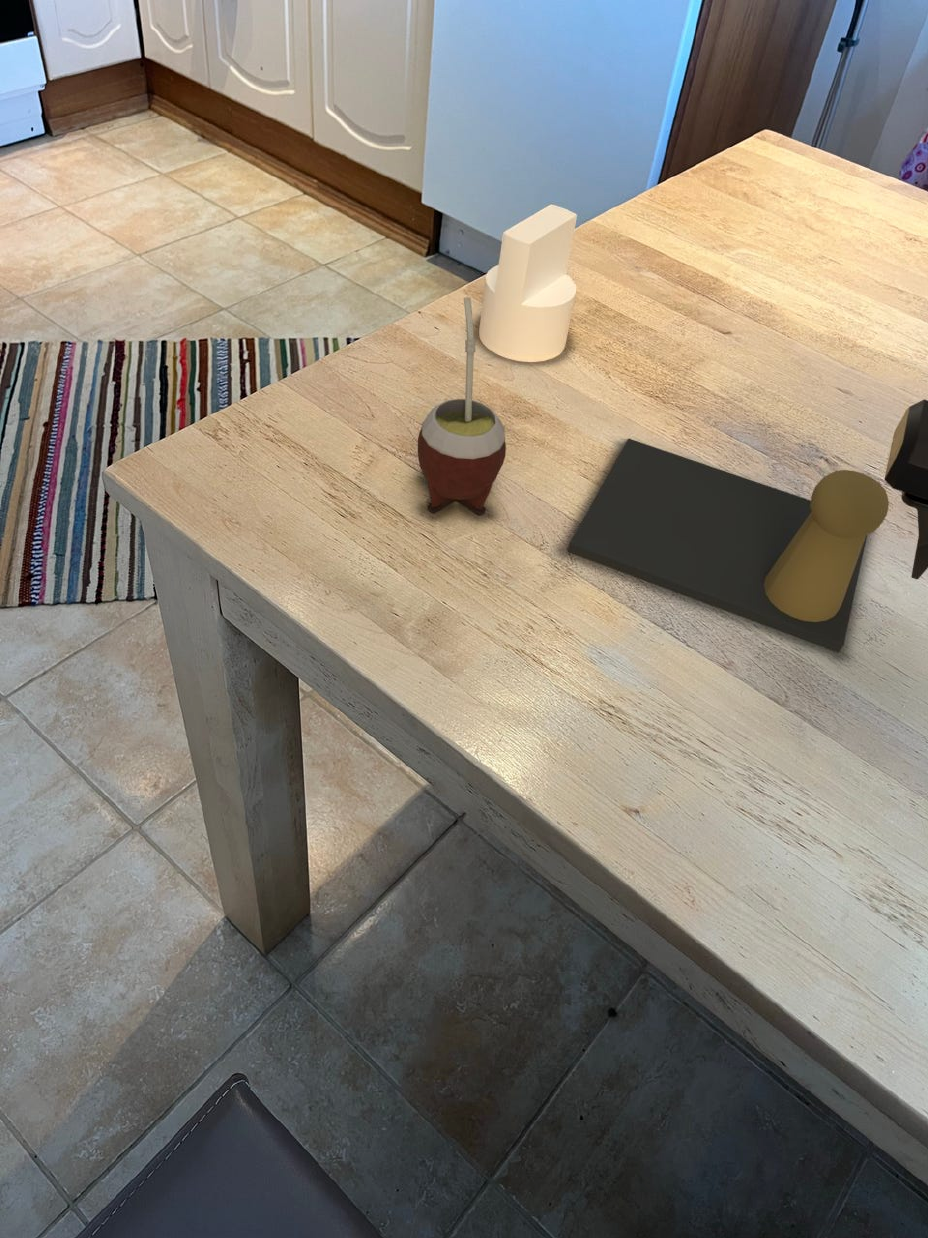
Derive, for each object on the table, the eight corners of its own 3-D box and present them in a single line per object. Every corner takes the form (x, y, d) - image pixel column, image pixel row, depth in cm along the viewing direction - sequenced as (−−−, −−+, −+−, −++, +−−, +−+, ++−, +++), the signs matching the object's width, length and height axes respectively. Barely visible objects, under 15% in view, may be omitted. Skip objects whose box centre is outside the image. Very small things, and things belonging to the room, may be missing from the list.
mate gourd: (457, 536, 76) (478, 375, 65) (389, 487, 79) (397, 326, 68) (517, 497, 80) (546, 339, 69) (450, 452, 83) (467, 294, 72)
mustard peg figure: (837, 575, 76) (897, 467, 68) (843, 629, 72) (907, 521, 64) (763, 559, 76) (813, 450, 68) (764, 612, 72) (818, 502, 64)
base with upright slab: (509, 305, 101) (526, 192, 93) (581, 337, 99) (605, 224, 90) (461, 337, 96) (474, 221, 87) (536, 372, 93) (557, 256, 84)
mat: (865, 529, 82) (870, 520, 81) (838, 653, 72) (843, 644, 71) (625, 446, 86) (628, 437, 86) (567, 552, 76) (569, 543, 75)
